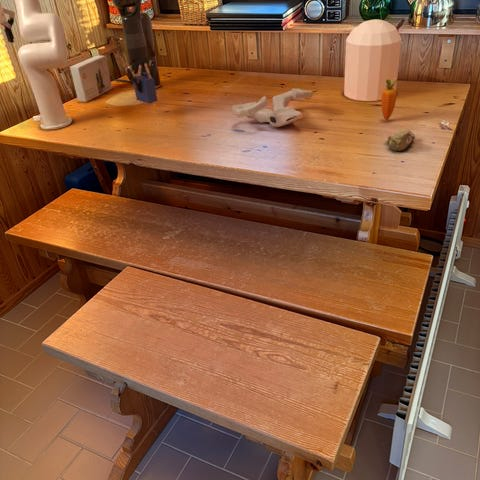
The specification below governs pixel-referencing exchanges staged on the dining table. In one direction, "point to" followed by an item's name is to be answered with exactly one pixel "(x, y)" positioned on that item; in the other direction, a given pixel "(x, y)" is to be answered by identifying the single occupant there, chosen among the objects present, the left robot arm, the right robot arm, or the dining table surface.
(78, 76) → the skincare box
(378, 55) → the container
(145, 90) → the block
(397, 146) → the rock
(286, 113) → the white branched piece
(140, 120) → the dining table surface
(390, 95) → the carrot
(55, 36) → the left robot arm
